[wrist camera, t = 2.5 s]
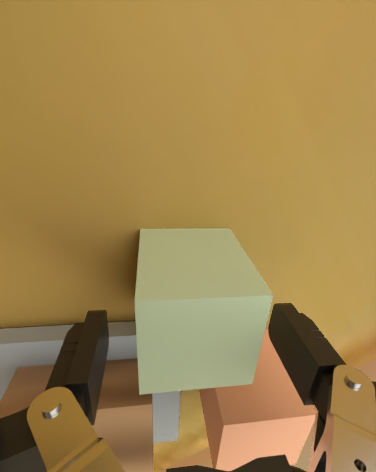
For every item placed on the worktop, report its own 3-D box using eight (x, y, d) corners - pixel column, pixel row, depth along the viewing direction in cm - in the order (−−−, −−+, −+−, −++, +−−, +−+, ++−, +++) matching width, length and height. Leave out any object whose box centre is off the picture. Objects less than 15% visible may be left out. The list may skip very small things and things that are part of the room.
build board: (-18, 329, 16) (-30, 345, 15) (181, 318, 17) (183, 332, 16) (26, 441, 21) (20, 459, 20) (176, 424, 23) (177, 440, 22)
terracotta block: (202, 332, 18) (223, 425, 13) (270, 328, 19) (317, 414, 14) (197, 379, 21) (214, 475, 15) (258, 374, 21) (295, 464, 16)
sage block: (140, 228, 14) (134, 301, 9) (229, 227, 15) (273, 295, 10) (142, 301, 17) (139, 394, 11) (220, 297, 17) (252, 384, 12)
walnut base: (17, 367, 16) (-9, 420, 13) (151, 357, 17) (152, 404, 14) (43, 441, 19) (26, 494, 17) (153, 428, 20) (153, 477, 18)
